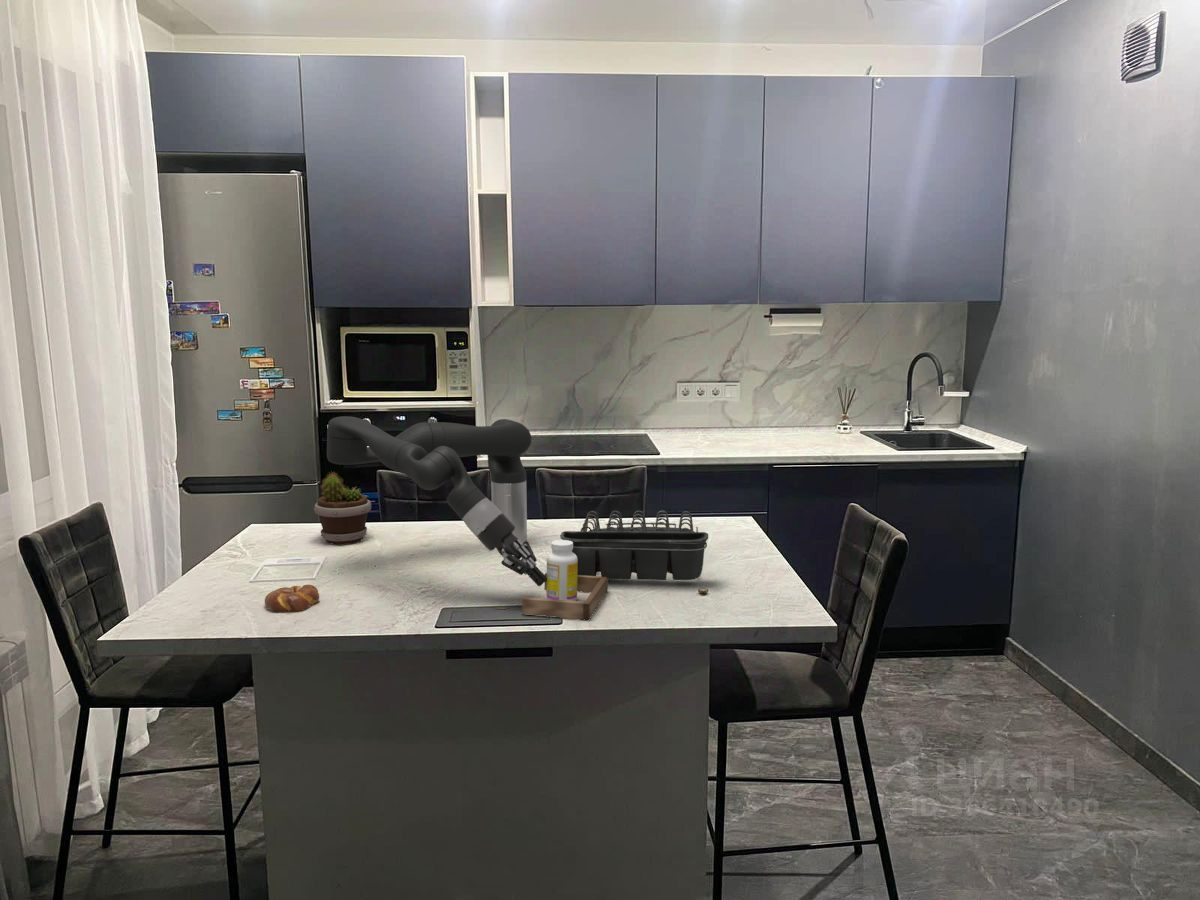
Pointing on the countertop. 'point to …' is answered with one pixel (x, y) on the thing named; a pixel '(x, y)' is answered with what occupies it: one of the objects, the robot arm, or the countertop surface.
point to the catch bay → (570, 608)
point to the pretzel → (292, 598)
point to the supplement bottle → (562, 571)
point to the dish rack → (638, 549)
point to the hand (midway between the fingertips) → (543, 582)
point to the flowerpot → (342, 512)
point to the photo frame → (290, 563)
